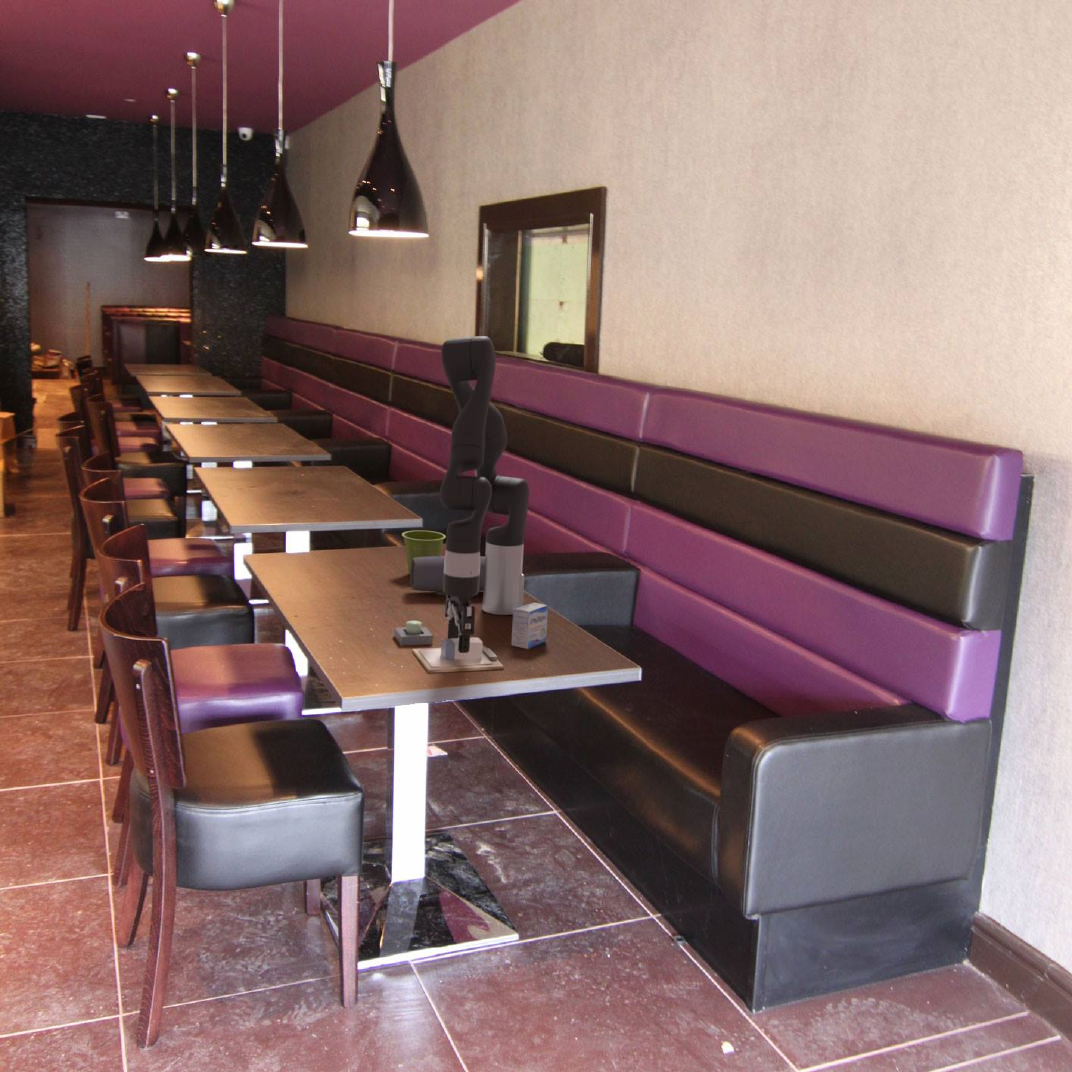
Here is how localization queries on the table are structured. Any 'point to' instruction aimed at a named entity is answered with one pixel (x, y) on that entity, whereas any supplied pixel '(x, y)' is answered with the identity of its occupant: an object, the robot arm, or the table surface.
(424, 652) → the clipboard
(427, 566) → the bluetooth speaker
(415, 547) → the plant pot
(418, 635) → the button housing
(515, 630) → the medicine box
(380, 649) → the table surface
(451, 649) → the white carton blue base
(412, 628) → the button
